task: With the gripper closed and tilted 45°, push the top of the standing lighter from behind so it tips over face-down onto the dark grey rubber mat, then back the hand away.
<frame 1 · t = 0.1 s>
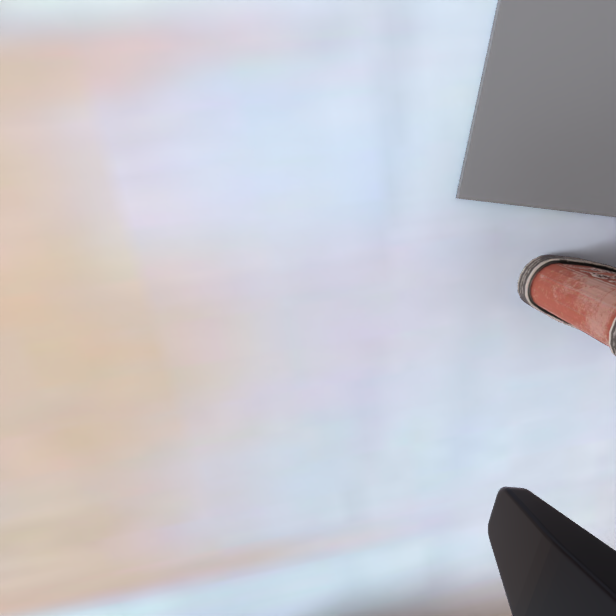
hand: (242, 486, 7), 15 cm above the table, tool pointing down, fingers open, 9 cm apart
lighter: (589, 295, 22), on the table
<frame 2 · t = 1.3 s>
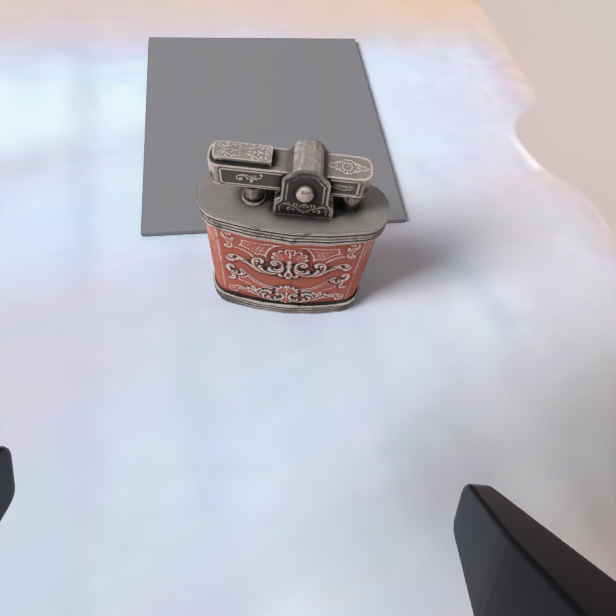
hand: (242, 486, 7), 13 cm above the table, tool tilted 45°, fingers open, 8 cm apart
lighter: (286, 288, 25), on the table
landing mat: (265, 123, 30), on the table
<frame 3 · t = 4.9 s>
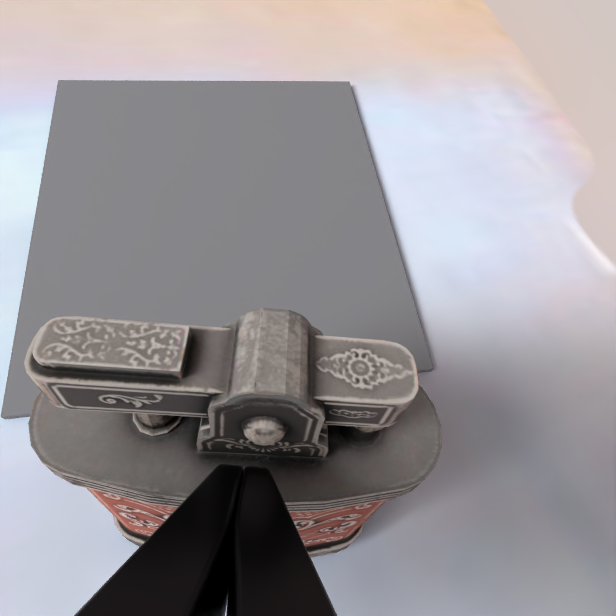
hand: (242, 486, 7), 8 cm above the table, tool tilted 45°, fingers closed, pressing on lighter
lighter: (243, 507, 15), on the table, touching gripper
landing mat: (221, 209, 20), on the table
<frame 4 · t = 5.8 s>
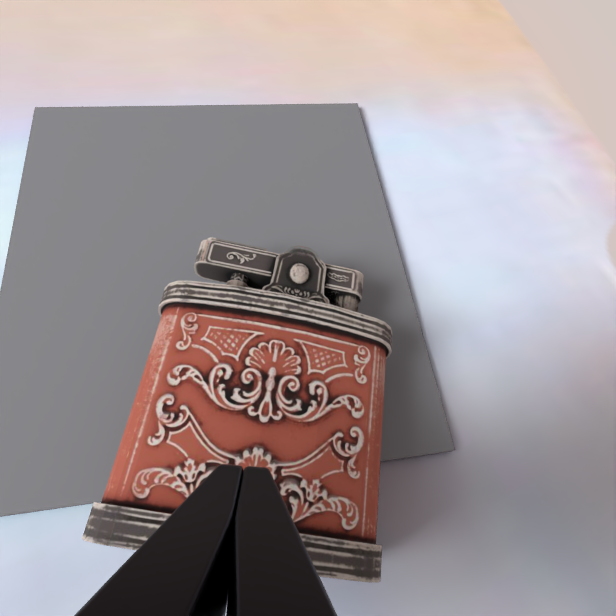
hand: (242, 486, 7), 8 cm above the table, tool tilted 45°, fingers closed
lighter: (233, 567, 12), point 2 cm above the table, touching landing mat
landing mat: (214, 257, 18), on the table
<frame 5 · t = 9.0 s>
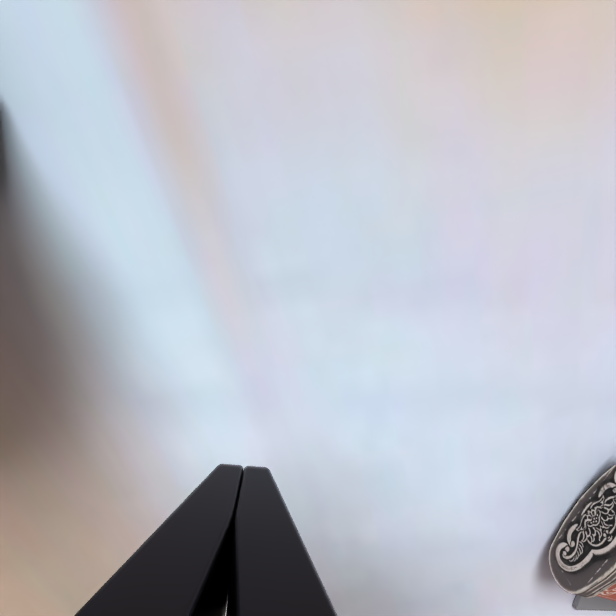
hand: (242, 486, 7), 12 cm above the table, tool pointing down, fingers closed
lighter: (597, 524, 21), point 2 cm above the table, touching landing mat
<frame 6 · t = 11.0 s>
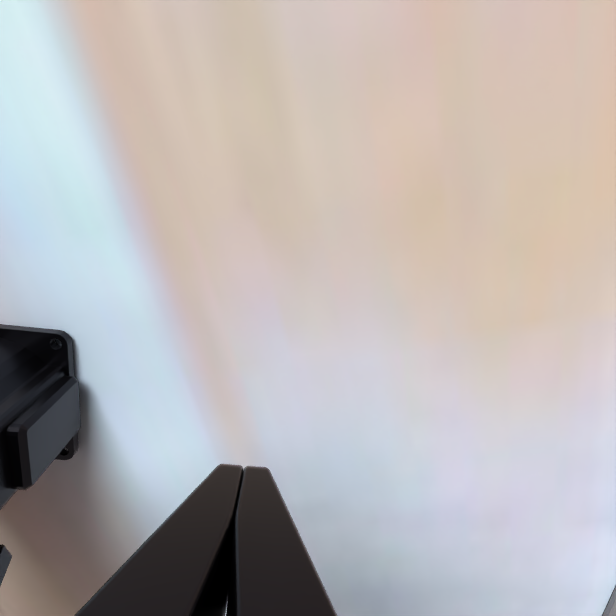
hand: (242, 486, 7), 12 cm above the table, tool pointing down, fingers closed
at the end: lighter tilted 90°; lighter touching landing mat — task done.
